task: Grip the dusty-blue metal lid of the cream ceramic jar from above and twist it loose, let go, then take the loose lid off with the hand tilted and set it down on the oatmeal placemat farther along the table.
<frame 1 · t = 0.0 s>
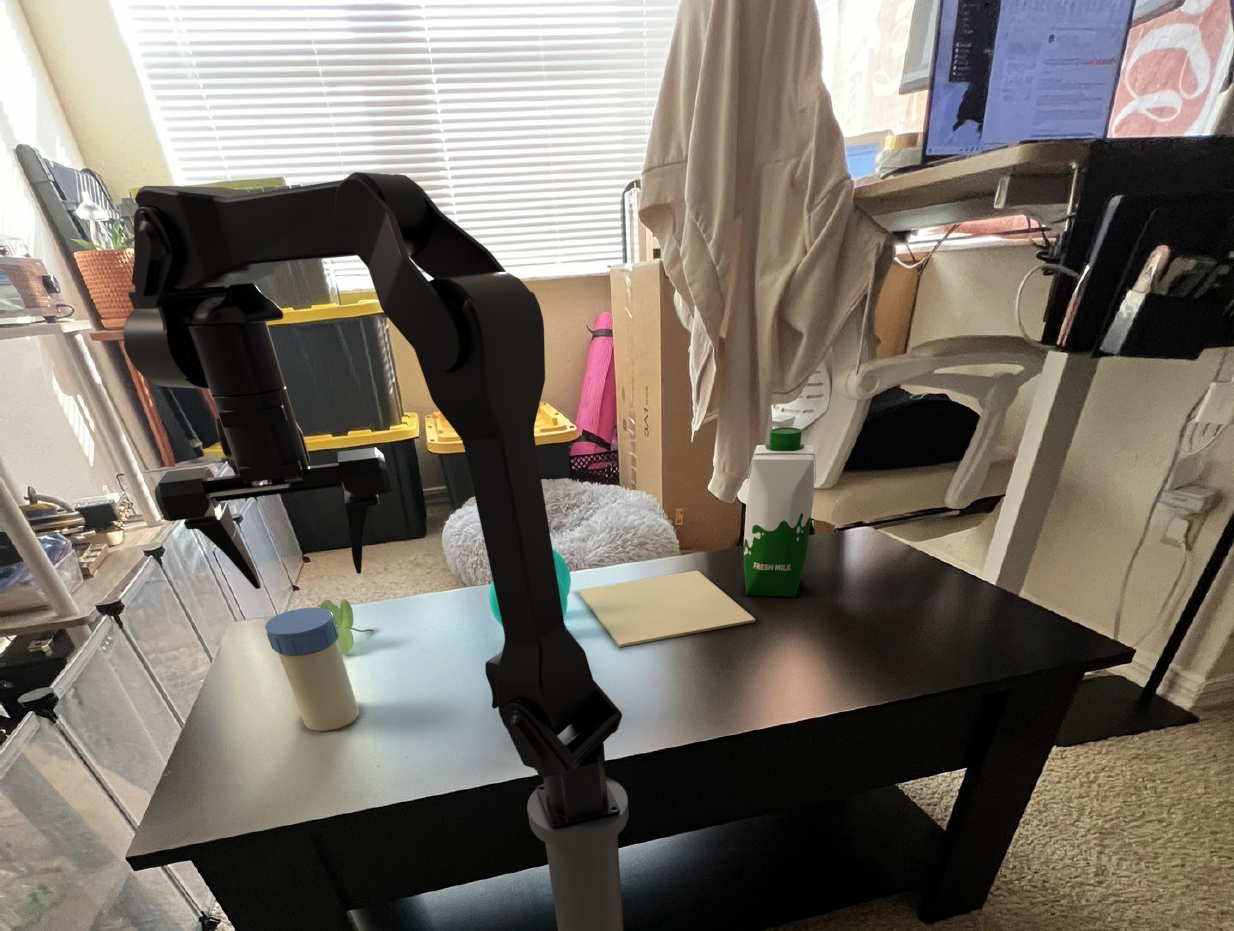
hand: (309, 579, 69), 17 cm above the table, tool pointing down, fingers open, 9 cm apart
jar: (332, 717, 82), on the table
lid: (300, 624, 75), point 11 cm above the table, screwed on, not yet turned
milk carton: (771, 588, 105), on the table
placemat: (662, 606, 101), on the table
green clover: (354, 646, 97), on the table
turquoise spool: (535, 627, 98), on the table
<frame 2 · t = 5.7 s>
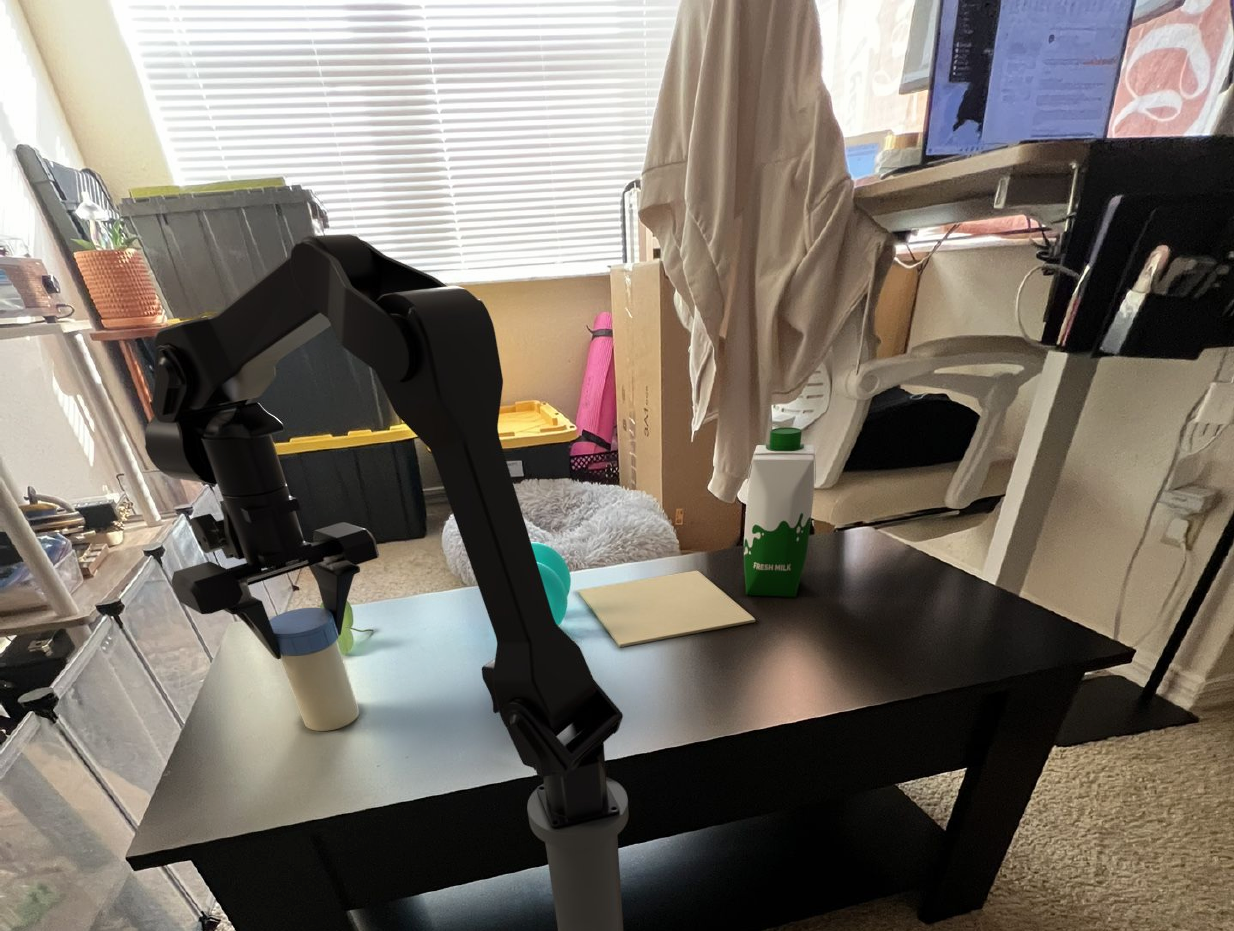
hand: (308, 646, 76), 9 cm above the table, tool pointing down, fingers closed on lid, 6 cm apart
lid: (300, 624, 75), point 11 cm above the table, screwed on, not yet turned, touching gripper
everything else where it was.
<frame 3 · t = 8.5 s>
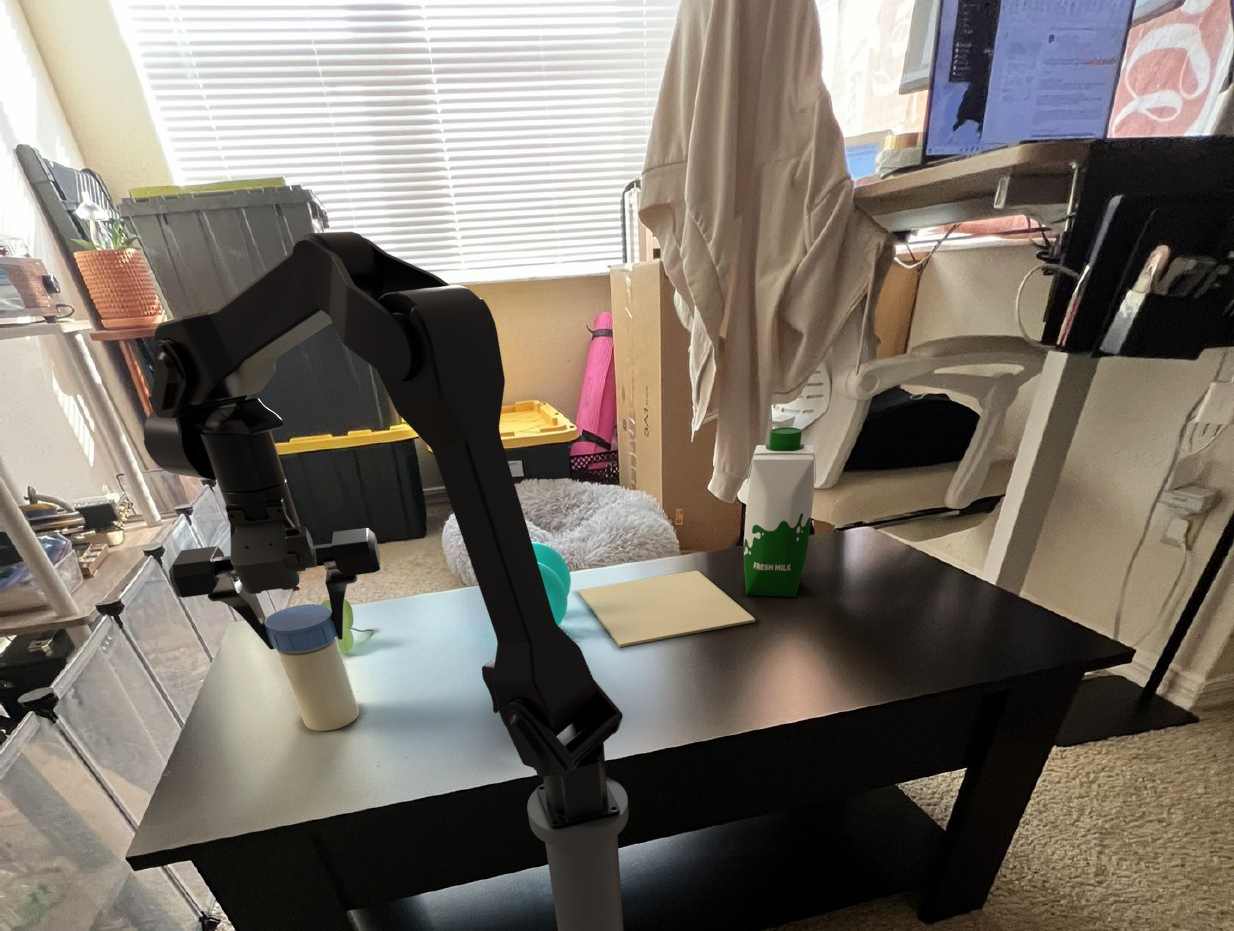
hand: (306, 643, 76), 9 cm above the table, tool pointing down, fingers closed on lid, 6 cm apart
lid: (299, 620, 74), point 11 cm above the table, off its thread, touching gripper
everything else where it was.
when the fingers open (9 cm above the table, at t = 9.3 s): lid stays where it is, resting on jar.
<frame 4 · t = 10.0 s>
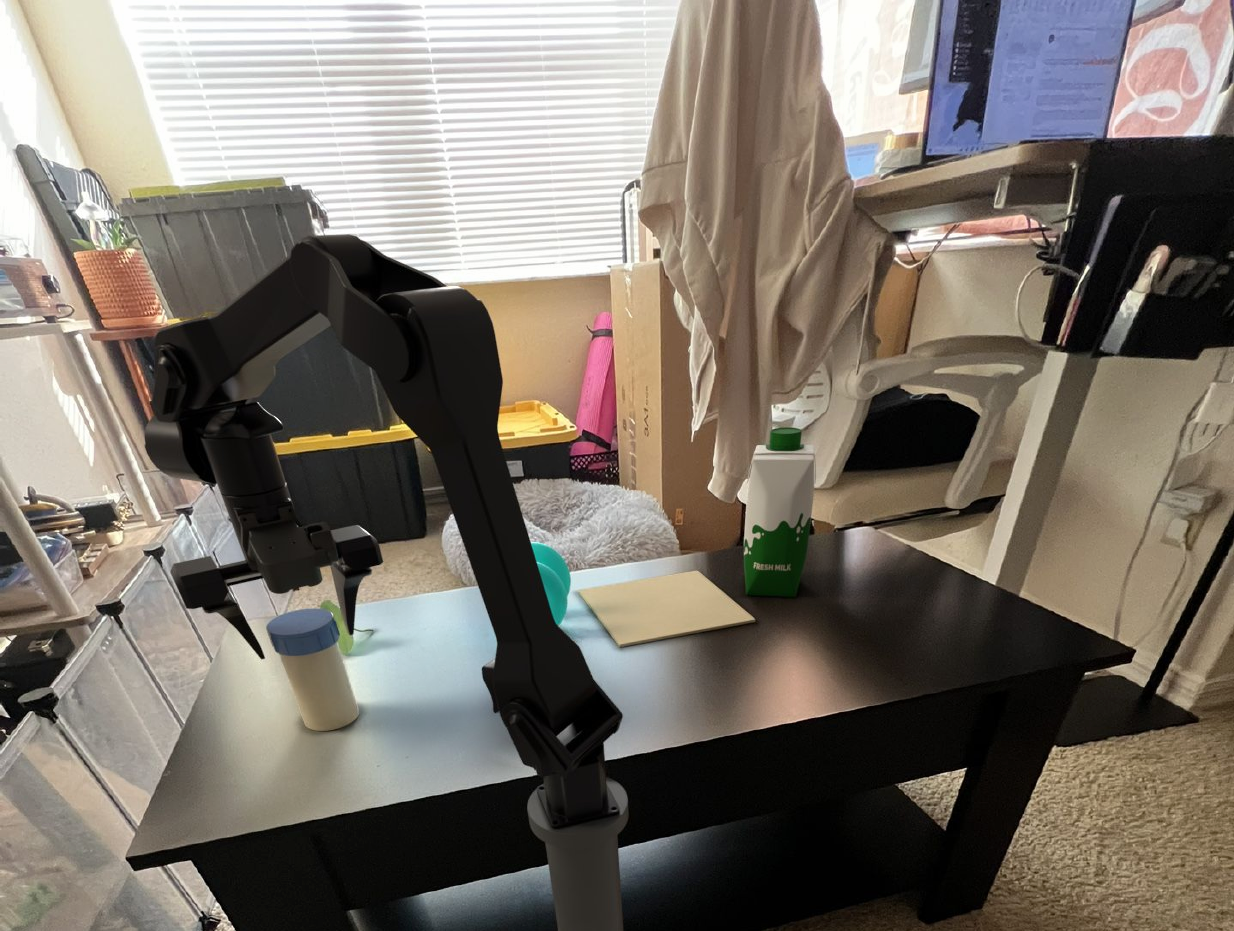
hand: (307, 645, 76), 9 cm above the table, tool pointing down, fingers open, 9 cm apart
jar: (332, 717, 82), on the table, touching lid
lid: (301, 624, 75), point 11 cm above the table, off its thread, touching jar
everything else where it was.
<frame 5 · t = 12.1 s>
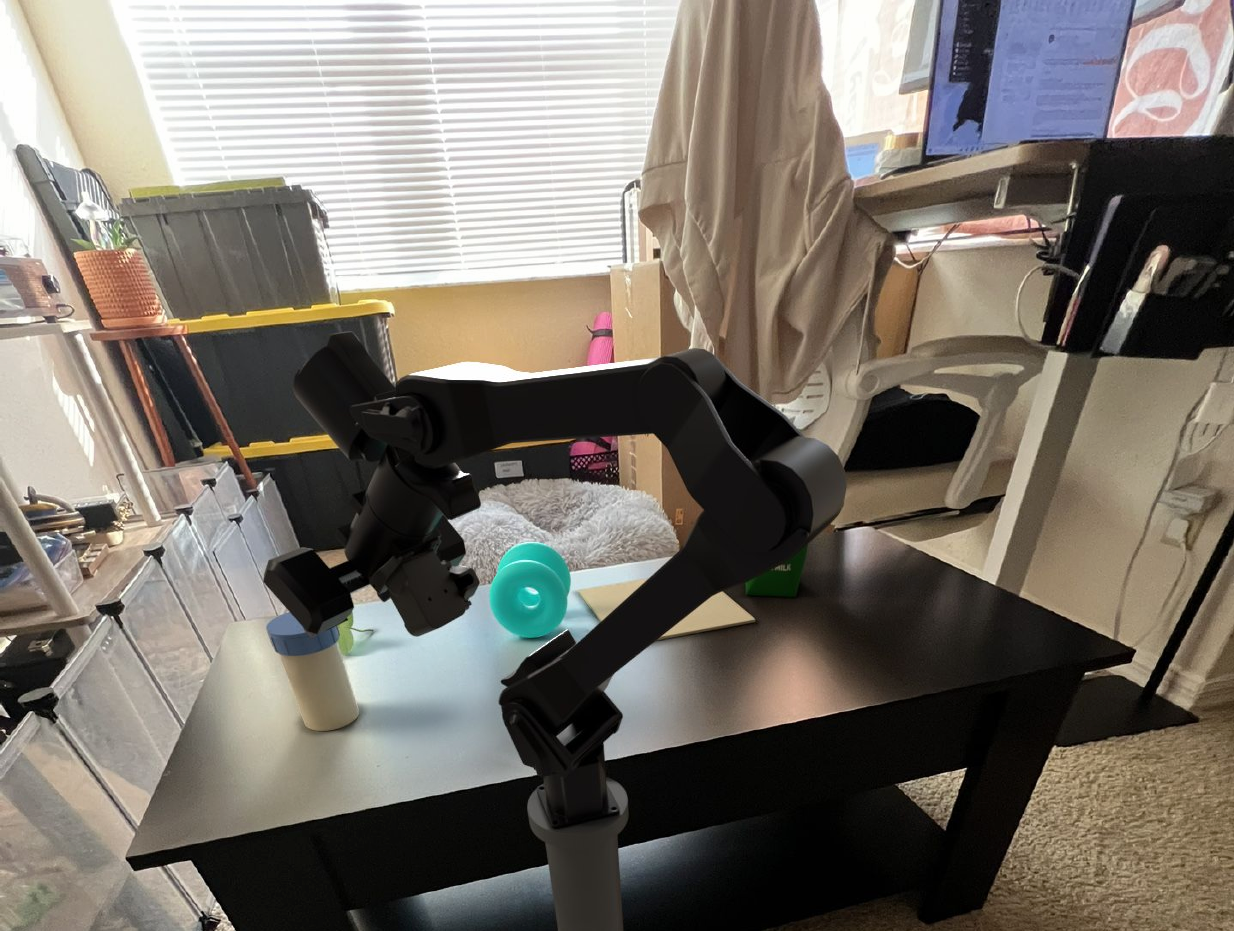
hand: (346, 615, 70), 13 cm above the table, tool tilted 45°, fingers open, 9 cm apart
nothing on the table moved.
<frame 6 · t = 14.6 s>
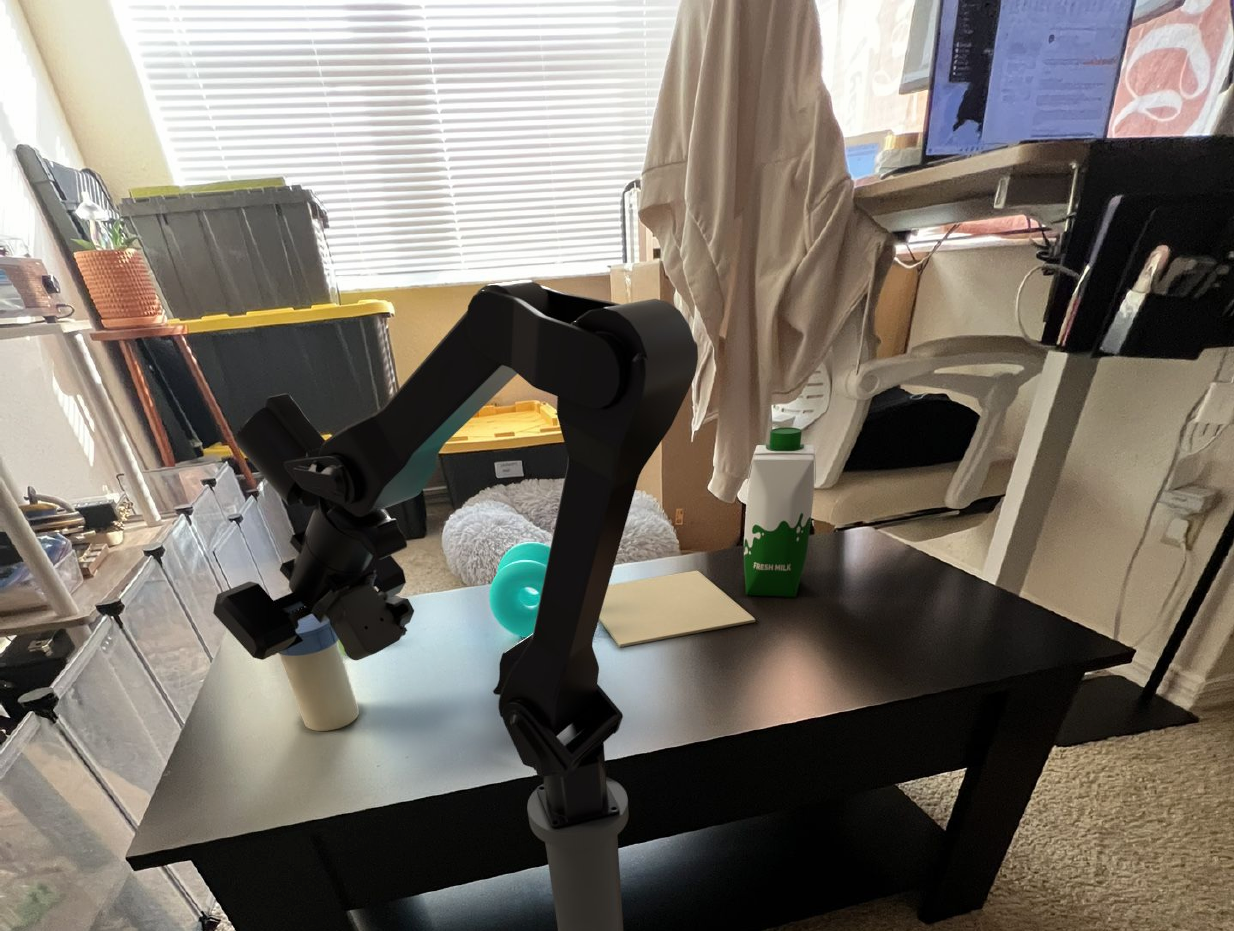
hand: (297, 638, 76), 9 cm above the table, tool tilted 45°, fingers closed on lid, 6 cm apart
lid: (301, 624, 75), point 11 cm above the table, off its thread, touching gripper, jar
everything else where it was.
when the fingers open (2 cm above the table, at t = 23.6 s): lid drops 2 cm, resting on placemat.
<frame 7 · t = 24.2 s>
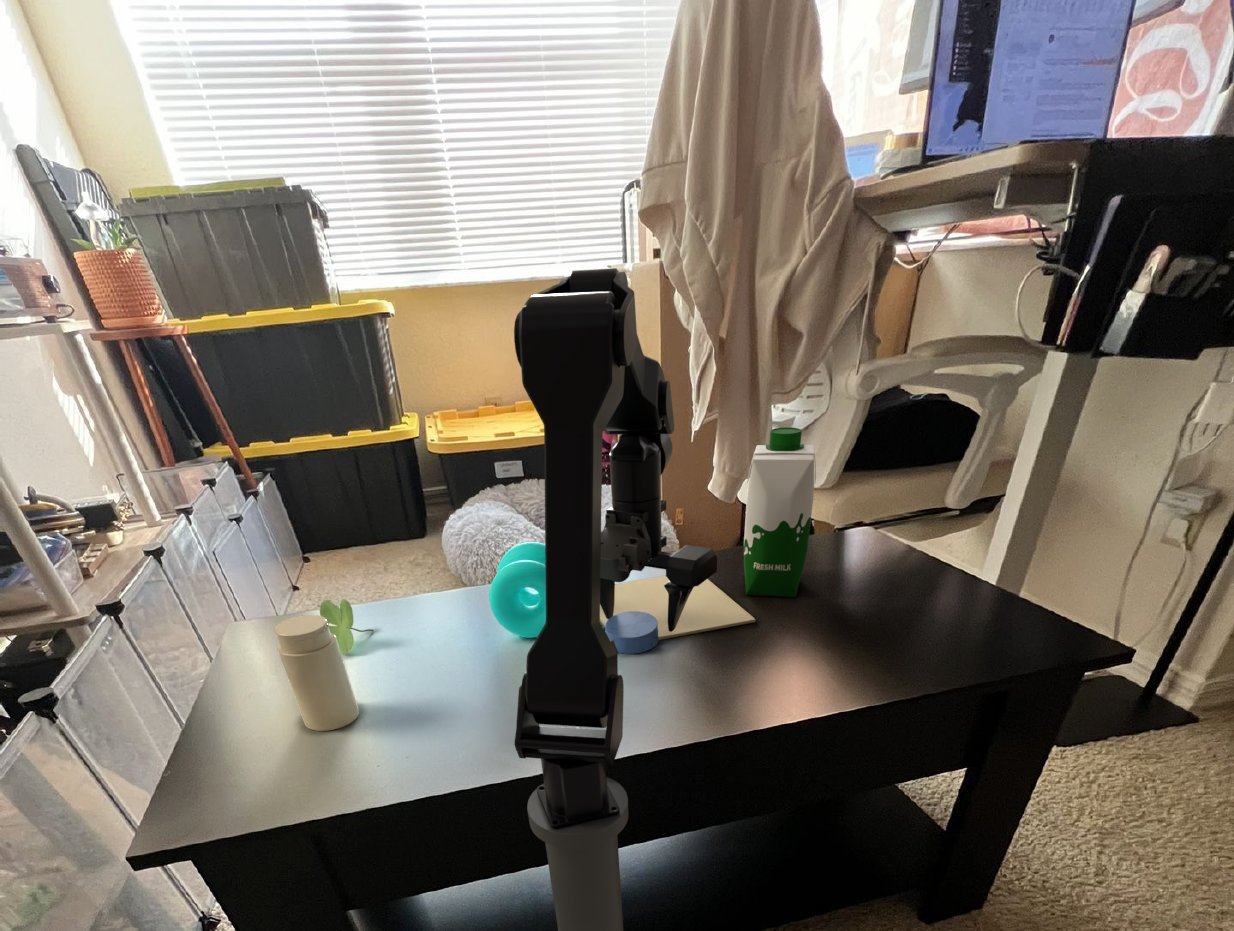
hand: (640, 624, 93), 2 cm above the table, tool pointing down, fingers open, 9 cm apart
jar: (332, 717, 82), on the table
lid: (631, 626, 91), point 2 cm above the table, tilted 6°, off its thread, touching placemat
everything else where it was.
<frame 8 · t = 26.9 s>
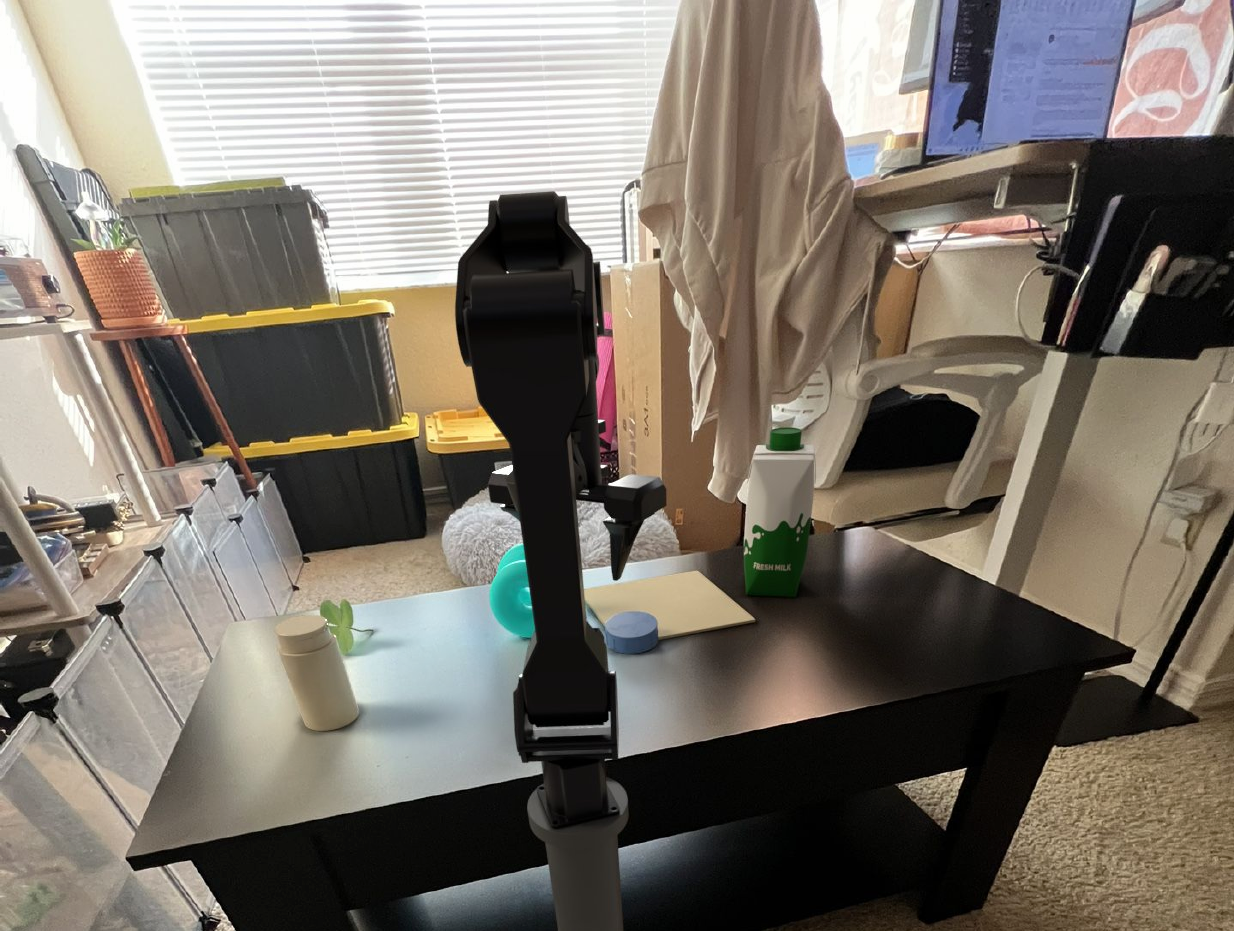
hand: (581, 573, 79), 12 cm above the table, tool pointing down, fingers open, 9 cm apart
nothing on the table moved.
at the end: lid came off its thread; lid inside the target area on the placemat (12.2 cm from its centre), point 2.2 cm above the placemat's base; the gripper is holding nothing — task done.
